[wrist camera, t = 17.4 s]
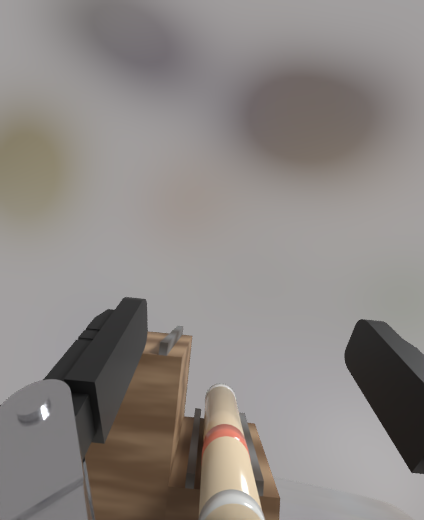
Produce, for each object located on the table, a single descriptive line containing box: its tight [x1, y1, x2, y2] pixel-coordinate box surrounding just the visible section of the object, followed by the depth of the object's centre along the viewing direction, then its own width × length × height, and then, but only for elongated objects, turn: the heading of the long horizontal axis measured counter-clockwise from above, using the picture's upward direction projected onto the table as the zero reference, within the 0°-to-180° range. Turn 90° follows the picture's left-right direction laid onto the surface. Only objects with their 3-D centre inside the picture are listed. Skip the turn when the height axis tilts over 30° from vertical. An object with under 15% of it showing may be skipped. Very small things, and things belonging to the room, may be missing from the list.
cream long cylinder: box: [198, 383, 265, 520], centre depth 24 cm, size 20×4×4 cm, turn 0°
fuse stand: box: [85, 326, 280, 520], centre depth 26 cm, size 12×20×33 cm, turn 90°
